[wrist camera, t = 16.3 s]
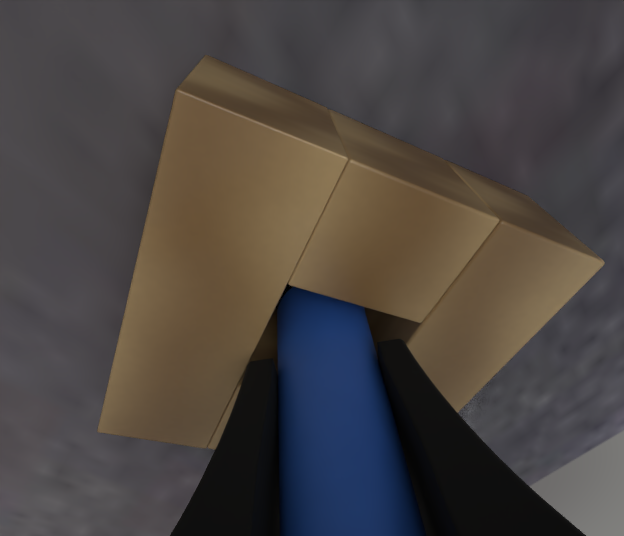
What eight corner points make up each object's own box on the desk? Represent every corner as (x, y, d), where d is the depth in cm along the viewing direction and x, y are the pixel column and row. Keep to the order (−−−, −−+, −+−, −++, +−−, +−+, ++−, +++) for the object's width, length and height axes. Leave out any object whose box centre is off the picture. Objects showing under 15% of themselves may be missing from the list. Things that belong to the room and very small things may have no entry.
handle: (359, 270, 12) (483, 688, 5) (364, 334, 14) (464, 722, 7) (269, 284, 12) (264, 720, 5) (284, 346, 14) (297, 743, 7)
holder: (528, 195, 14) (607, 263, 10) (373, 393, 19) (394, 477, 16) (205, 54, 10) (175, 88, 7) (131, 340, 16) (96, 432, 13)
